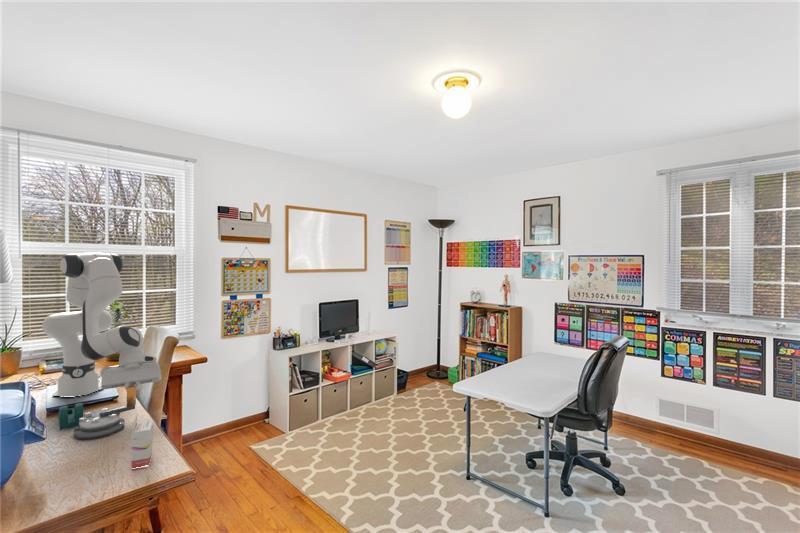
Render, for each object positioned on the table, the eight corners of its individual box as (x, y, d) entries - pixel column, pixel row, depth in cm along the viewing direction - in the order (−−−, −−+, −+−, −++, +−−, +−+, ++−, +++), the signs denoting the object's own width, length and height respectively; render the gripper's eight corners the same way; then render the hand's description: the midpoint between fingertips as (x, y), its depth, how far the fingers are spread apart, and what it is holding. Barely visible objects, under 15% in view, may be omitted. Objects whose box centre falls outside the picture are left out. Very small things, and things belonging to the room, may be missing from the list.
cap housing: (75, 428, 145) (75, 422, 145) (124, 419, 154) (124, 413, 154) (71, 444, 133) (71, 437, 133) (124, 433, 142) (124, 427, 142)
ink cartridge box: (150, 467, 120) (150, 420, 120) (130, 470, 117) (131, 423, 117) (153, 454, 127) (153, 410, 127) (135, 457, 125) (135, 413, 125)
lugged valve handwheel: (84, 435, 135) (84, 402, 135) (75, 425, 143) (75, 394, 142) (141, 419, 149) (141, 389, 149) (129, 411, 156) (130, 382, 156)
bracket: (83, 425, 148) (83, 405, 148) (60, 430, 144) (60, 409, 144) (79, 411, 161) (79, 393, 161) (58, 416, 157) (58, 396, 157)
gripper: (100, 363, 153) (99, 395, 145) (160, 356, 165) (162, 385, 158) (100, 371, 157) (99, 403, 149) (159, 364, 169) (161, 392, 161)
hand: (132, 393), depth 153 cm, fingers closed, pressing on lugged valve handwheel
